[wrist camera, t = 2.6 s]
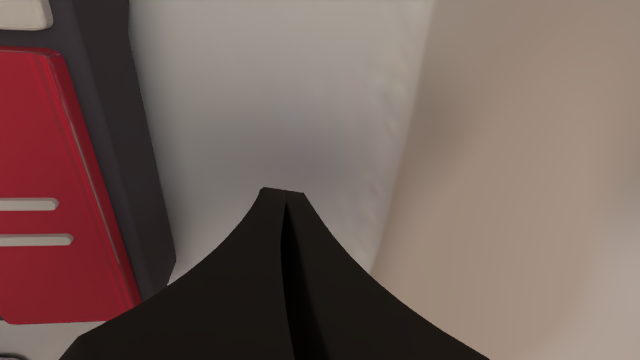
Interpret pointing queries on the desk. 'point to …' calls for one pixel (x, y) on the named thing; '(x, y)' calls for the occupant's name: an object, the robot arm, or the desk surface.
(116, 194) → the calculator
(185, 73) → the desk surface
